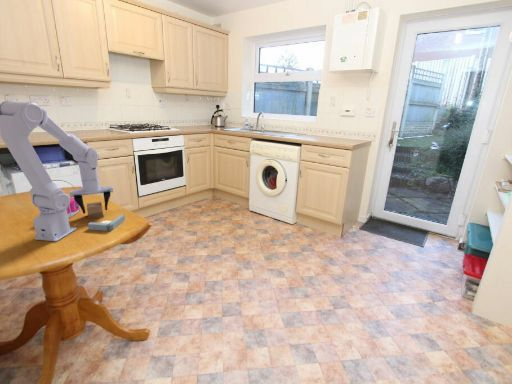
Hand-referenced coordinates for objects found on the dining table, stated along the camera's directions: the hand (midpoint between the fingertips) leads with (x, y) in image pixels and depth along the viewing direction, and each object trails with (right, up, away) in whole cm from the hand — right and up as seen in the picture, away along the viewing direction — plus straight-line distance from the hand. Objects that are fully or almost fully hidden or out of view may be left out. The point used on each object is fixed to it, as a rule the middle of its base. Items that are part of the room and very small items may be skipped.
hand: (95, 211), depth 110 cm
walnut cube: (0, -2, +1) cm, 2 cm away
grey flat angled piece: (+8, -5, -7) cm, 12 cm away
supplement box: (-12, +3, +3) cm, 12 cm away
